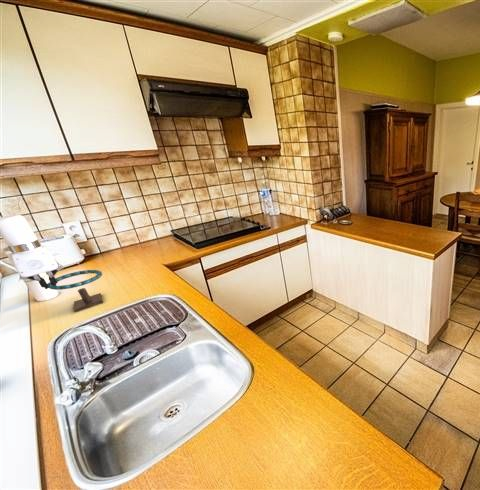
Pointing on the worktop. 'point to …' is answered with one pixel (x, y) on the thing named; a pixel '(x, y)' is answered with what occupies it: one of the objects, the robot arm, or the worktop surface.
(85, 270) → the ring
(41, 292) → the cylindrical container
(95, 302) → the stand
